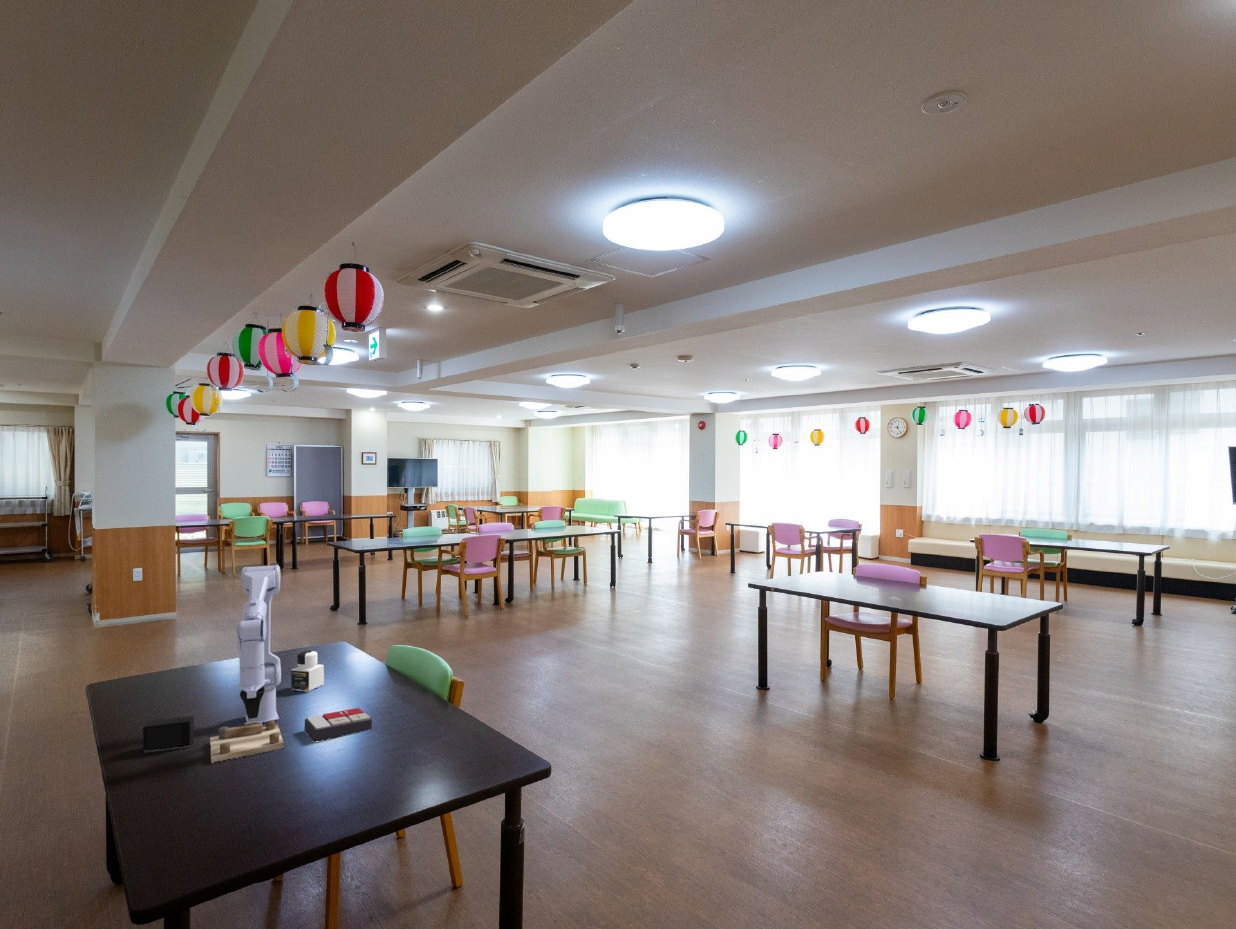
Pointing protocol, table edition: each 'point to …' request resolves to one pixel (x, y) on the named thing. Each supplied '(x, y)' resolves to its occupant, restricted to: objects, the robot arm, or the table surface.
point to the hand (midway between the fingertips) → (252, 717)
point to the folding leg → (239, 731)
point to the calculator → (337, 724)
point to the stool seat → (247, 743)
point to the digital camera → (168, 733)
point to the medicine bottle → (307, 672)
